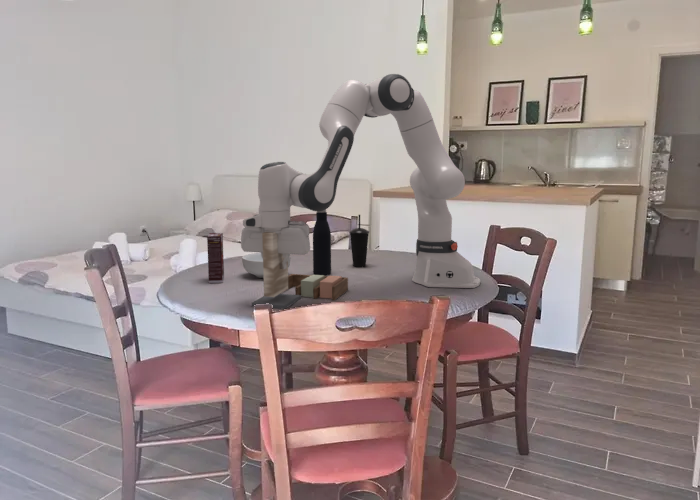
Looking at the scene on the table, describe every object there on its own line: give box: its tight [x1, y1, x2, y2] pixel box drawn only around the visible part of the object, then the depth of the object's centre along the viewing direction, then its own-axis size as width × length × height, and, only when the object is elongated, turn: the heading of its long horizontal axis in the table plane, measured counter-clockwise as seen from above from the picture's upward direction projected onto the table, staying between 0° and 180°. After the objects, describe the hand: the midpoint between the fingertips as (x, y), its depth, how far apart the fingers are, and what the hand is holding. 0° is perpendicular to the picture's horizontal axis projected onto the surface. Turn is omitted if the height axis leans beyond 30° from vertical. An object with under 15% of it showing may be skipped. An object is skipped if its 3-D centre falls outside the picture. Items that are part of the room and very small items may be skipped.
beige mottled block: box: [262, 232, 289, 297], centre depth 154 cm, size 3×10×18 cm, turn 163°
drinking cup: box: [348, 214, 370, 268], centre depth 206 cm, size 8×8×20 cm
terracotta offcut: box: [319, 275, 343, 300], centre depth 165 cm, size 4×9×5 cm, turn 163°
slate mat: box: [251, 293, 302, 310], centre depth 156 cm, size 10×12×1 cm
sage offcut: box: [301, 274, 325, 298], centre depth 166 cm, size 4×9×5 cm, turn 161°
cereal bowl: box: [241, 252, 292, 279], centre depth 191 cm, size 17×17×7 cm
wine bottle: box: [312, 209, 332, 276], centre depth 192 cm, size 6×6×30 cm
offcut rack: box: [280, 273, 349, 301], centre depth 167 cm, size 19×13×4 cm
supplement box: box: [206, 232, 225, 284], centre depth 183 cm, size 9×5×16 cm, turn 9°
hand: (275, 268), depth 155 cm, fingers closed on beige mottled block, 3 cm apart
